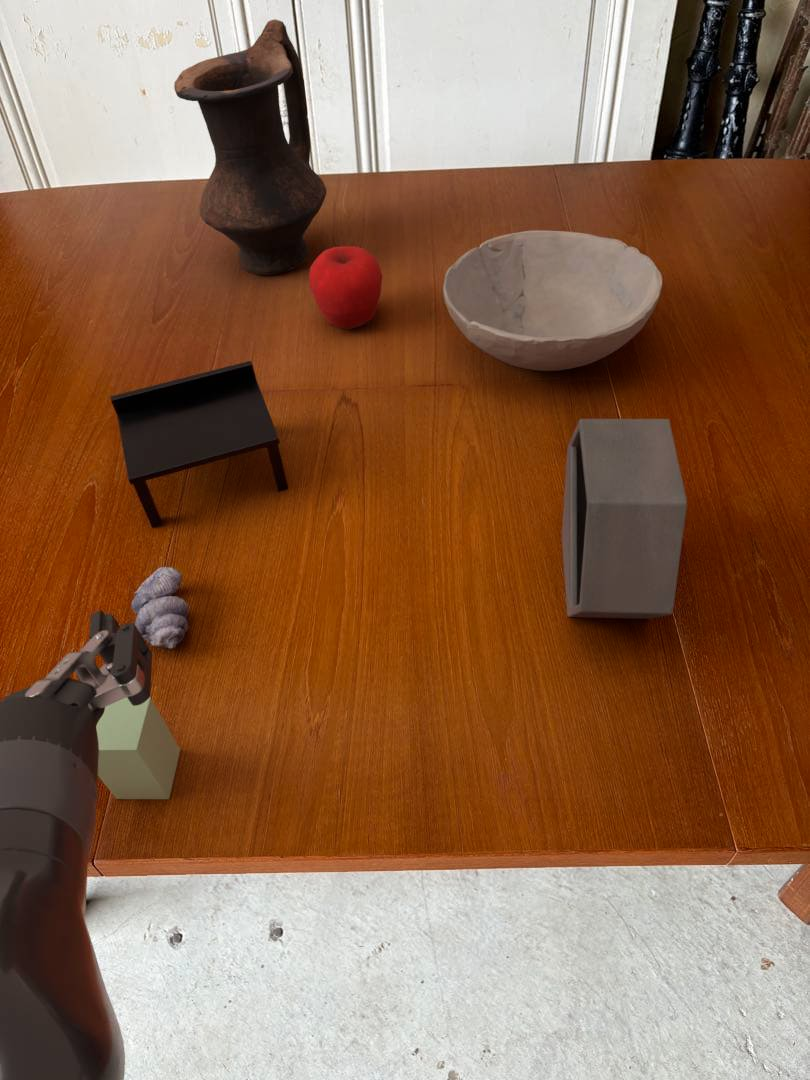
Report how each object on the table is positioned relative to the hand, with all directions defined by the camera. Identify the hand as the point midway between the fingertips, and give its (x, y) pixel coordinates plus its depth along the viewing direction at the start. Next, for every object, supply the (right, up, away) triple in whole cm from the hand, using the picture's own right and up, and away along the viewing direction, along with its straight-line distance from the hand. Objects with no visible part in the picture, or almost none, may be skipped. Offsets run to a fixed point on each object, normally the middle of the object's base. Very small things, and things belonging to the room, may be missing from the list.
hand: (45, 649), depth 56 cm
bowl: (+43, +33, +52) cm, 75 cm away
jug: (+5, +52, +71) cm, 88 cm away
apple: (+17, +38, +58) cm, 71 cm away
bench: (+2, +15, +39) cm, 42 cm away
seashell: (+1, -1, +25) cm, 25 cm away
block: (+3, -13, +14) cm, 19 cm away
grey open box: (+45, +3, +25) cm, 51 cm away
